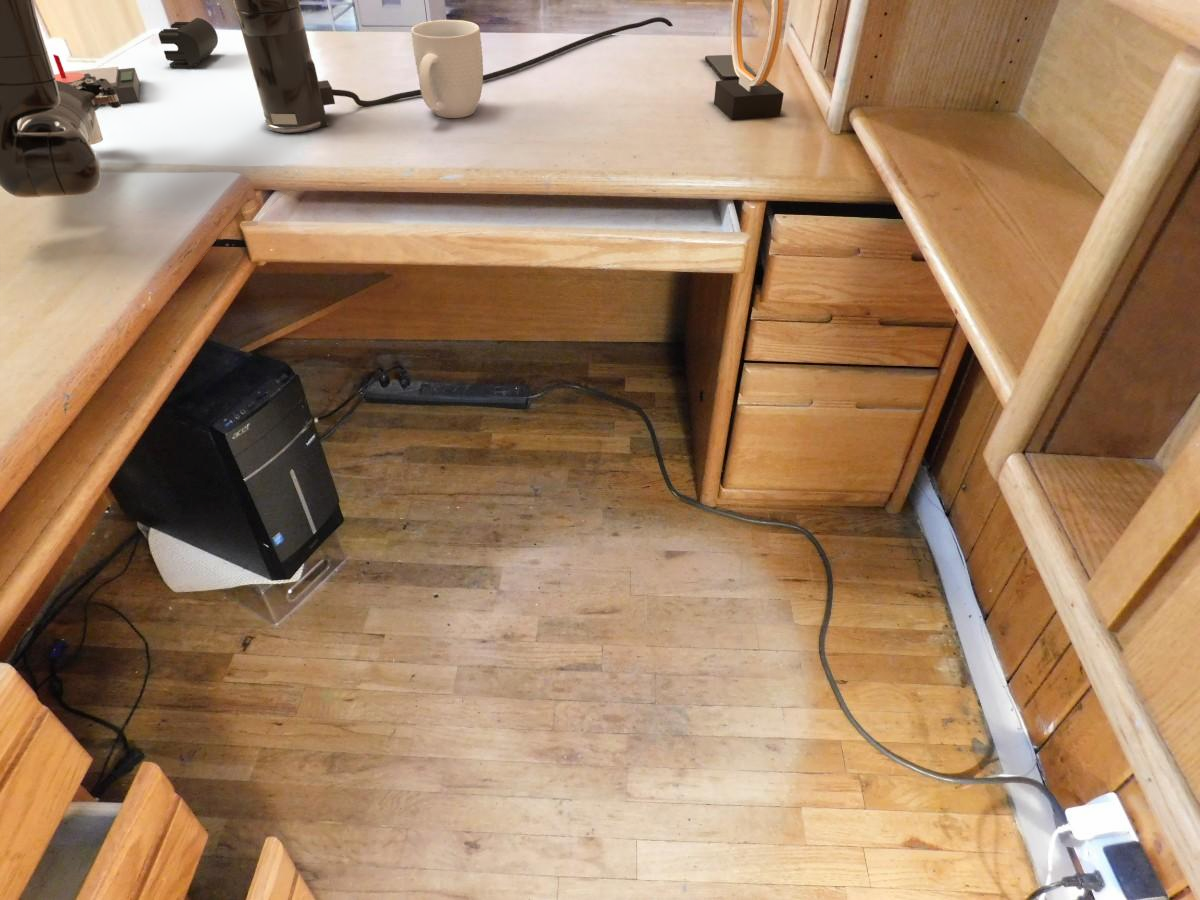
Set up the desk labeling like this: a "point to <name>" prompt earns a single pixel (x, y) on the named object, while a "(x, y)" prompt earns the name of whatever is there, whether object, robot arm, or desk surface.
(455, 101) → the mug
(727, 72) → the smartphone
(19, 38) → the robot arm
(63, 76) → the cup
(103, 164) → the desk surface
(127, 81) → the scale
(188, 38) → the end cap
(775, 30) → the lamp
